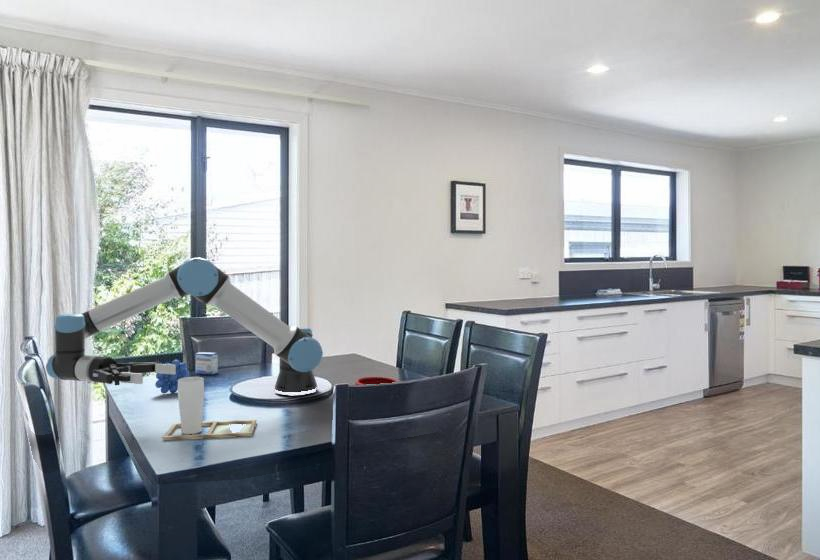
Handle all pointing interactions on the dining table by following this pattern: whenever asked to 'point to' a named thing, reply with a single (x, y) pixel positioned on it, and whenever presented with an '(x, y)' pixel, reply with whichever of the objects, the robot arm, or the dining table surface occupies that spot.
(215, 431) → the wooden window frame
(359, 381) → the plant pot
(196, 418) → the drinking glass
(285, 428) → the dining table surface
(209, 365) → the medicine box
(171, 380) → the grapes
